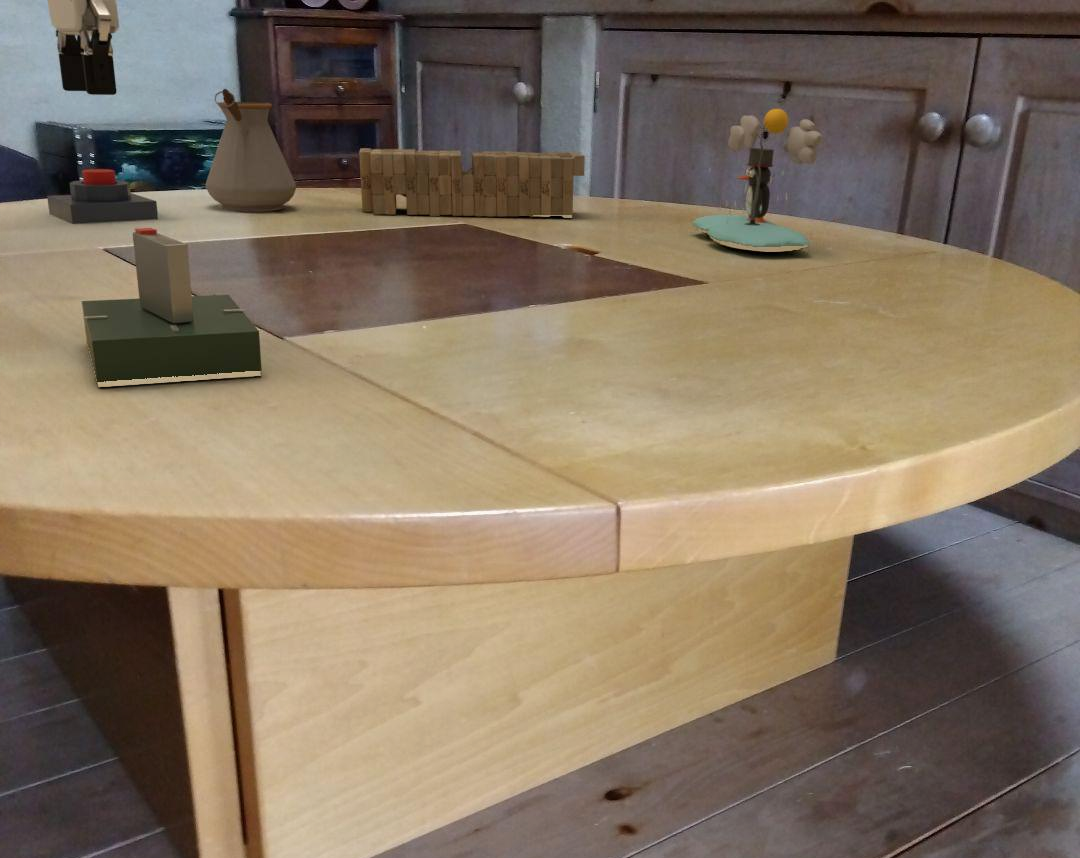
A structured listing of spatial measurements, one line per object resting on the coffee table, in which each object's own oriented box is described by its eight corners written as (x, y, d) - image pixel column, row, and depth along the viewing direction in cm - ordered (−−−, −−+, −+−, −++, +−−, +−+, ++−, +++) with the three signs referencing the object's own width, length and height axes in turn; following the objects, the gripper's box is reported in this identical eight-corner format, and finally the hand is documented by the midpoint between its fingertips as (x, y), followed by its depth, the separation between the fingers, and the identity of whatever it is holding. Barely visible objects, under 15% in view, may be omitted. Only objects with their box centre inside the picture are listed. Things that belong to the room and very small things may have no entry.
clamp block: (96, 388, 69) (89, 337, 68) (85, 343, 79) (79, 298, 78) (263, 376, 73) (260, 328, 72) (233, 335, 83) (230, 292, 82)
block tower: (361, 221, 145) (584, 218, 148) (357, 153, 142) (586, 151, 145) (364, 213, 153) (576, 210, 155) (360, 147, 149) (577, 146, 152)
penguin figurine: (685, 231, 142) (696, 102, 136) (767, 233, 143) (781, 105, 137) (726, 258, 123) (740, 110, 117) (819, 260, 125) (839, 114, 118)
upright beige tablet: (194, 322, 73) (187, 239, 71) (173, 324, 72) (165, 241, 70) (160, 305, 77) (152, 227, 75) (139, 307, 76) (131, 228, 74)
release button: (89, 188, 131) (87, 172, 130) (79, 184, 134) (77, 169, 133) (120, 187, 133) (118, 171, 133) (110, 183, 136) (108, 168, 135)
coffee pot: (215, 201, 152) (206, 82, 146) (302, 203, 153) (296, 85, 147) (183, 224, 132) (171, 87, 126) (282, 226, 133) (275, 90, 127)
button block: (72, 224, 129) (68, 188, 127) (49, 214, 135) (44, 180, 134) (158, 219, 135) (155, 185, 133) (132, 210, 141) (128, 177, 139)
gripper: (131, -82, 118) (149, 96, 125) (79, -73, 131) (97, 89, 138) (58, -90, 114) (80, 96, 121) (11, -79, 126) (33, 88, 133)
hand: (89, 91), depth 129 cm, fingers open, 7 cm apart
